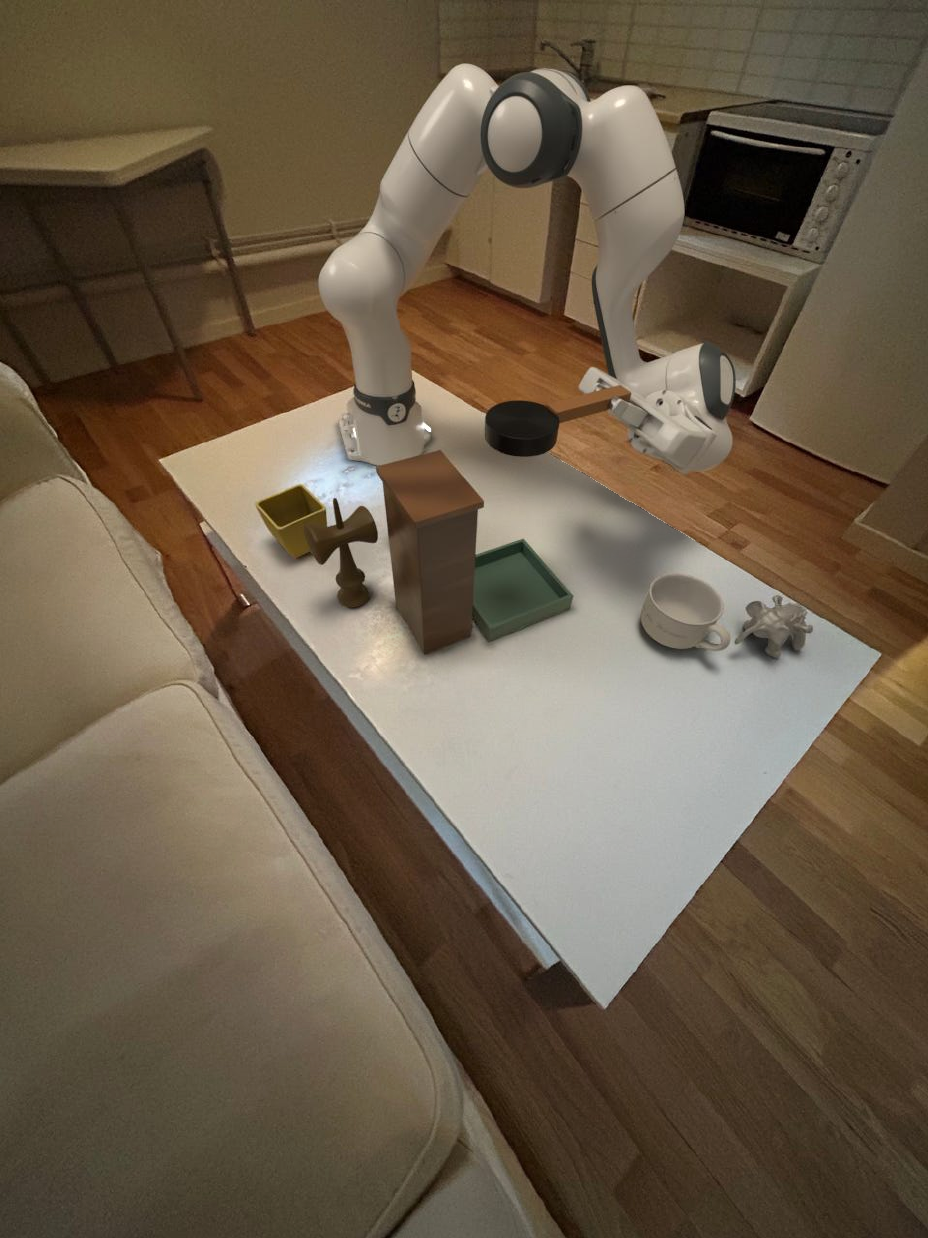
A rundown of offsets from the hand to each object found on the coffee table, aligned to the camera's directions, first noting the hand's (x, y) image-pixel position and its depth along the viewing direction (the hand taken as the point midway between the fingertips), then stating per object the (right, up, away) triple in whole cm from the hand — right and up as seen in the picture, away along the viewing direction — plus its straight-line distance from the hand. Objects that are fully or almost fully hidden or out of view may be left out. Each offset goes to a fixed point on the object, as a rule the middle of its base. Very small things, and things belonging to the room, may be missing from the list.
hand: (604, 396), depth 69 cm
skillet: (-6, -4, 0) cm, 7 cm away
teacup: (+15, -32, +15) cm, 38 cm away
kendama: (-36, -25, +19) cm, 48 cm away
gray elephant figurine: (+28, -33, +15) cm, 46 cm away
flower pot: (-47, -16, +27) cm, 56 cm away
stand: (-23, -29, +16) cm, 40 cm away
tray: (-11, -24, +20) cm, 33 cm away
